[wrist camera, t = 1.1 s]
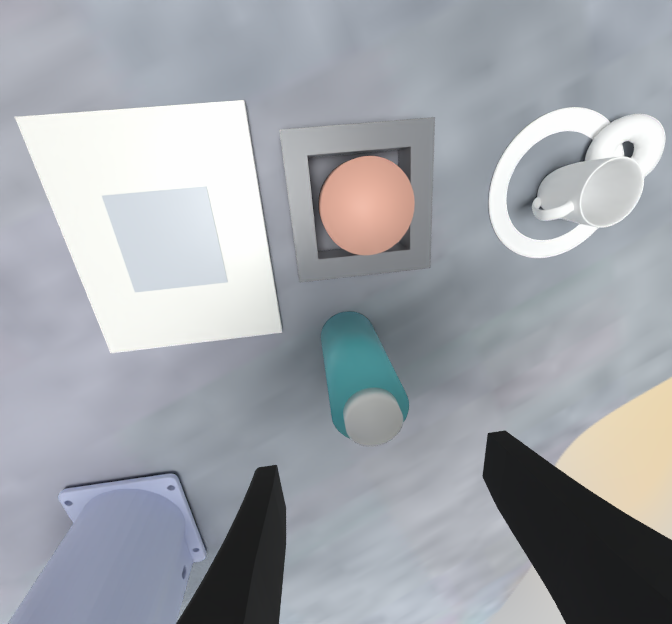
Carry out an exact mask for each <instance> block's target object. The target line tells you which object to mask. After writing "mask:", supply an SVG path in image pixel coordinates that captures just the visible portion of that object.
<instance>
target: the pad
mask: <svg viewBox="0 0 672 624" xmlns="http://www.w3.org/2000/svg"><path fill="white" fill-rule="evenodd" d="M15 118H16V121H17V123H18V126H19V128H20V131H21V133H22V136H23V138H24V141H25V143H26V146H27V148H28V150H29V153H30V155H31V158H32V160H33V163H34V165H35V168H36V170H37V173H38V175H39V178H40V180H41V182H42V185H43V187H44V190H45V192H46V195H47V197H48V200H49V202H50V205H51V207H52V210H53V212H54V214H55V217H56V219H57V222H58V224H59V227H60V229H61V232H62V234H63V237H64V239H65V242H66V244H67V247H68V249H69V251H70V254H71V256H72V259H73V261H74V264H75V266H76V269H77V271H78V274H79V276H80V279H81V281H82V283H83V286H84V288H85V291H86V293H87V296H88V298H89V301H90V303H91V306H92V308H93V311H94V313H95V315H96V318H97V320H98V323H99V325H100V328H101V330H102V333H103V335H104V338H105V340H106V343H107V345H108V347H109V350H110V352H111V353H117V352H125V351H134V350H142V349H150V348H159V347H167V346H175V345H183V344H192V343H200V342H208V341H217V340H225V339H233V338H241V337H250V336H258V335H266V334H275V333H282V324H281V318H280V312H279V306H278V300H277V294H276V288H275V282H274V276H273V269H272V263H271V257H270V251H269V245H268V239H267V233H266V227H265V221H264V215H263V209H262V202H261V196H260V190H259V184H258V178H257V172H256V166H255V160H254V154H253V148H252V141H251V135H250V129H249V123H248V117H247V111H246V105H245V101H244V100H240V101H226V102H212V103H199V104H185V105H172V106H158V107H144V108H131V109H117V110H103V111H90V112H76V113H62V114H49V115H35V116H22V117H15Z"/></svg>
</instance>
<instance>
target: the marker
mask: <svg viewBox="0 0 672 624" xmlns="http://www.w3.org/2000/svg"><path fill="white" fill-rule="evenodd" d="M321 343H322V350H323V357H324V364H325V372H326V379H327V386H328V393H329V401H330V408H331V415H332V420H333V423H334V425H335V427H336V428H337V430H338V431H339V432H340V433H341V434H343V435H344V436H346V437H348V438H350V439H352V440H353V441H354V442H355V443H357V444H360V445H363V446H378V445H382V444H384V443H387V442H388V441H390V440H392V439H393V438H394V437H395V436H396V435H397V434H398V433H399V432H400V430H401V428H402V425H403V422H404V421H405V419H406V417H407V414H408V410H409V401H408V397H407V395H406V392H405V390H404V388H403V386H402V384H401V382H400V380H399V378H398V376H397V374H396V372H395V370H394V368H393V366H392V364H391V362H390V360H389V358H388V356H387V354H386V352H385V350H384V348H383V346H382V344H381V342H380V340H379V338H378V336H377V334H376V332H375V330H374V328H373V326H372V324H371V323H370V321H369V320H368V319H367V318H366V317H365V316H363V315H362V314H360V313H357V312H350V311H348V312H341V313H338V314H336V315H334V316H333V317H331V318H330V319H329V320H328V321H327V322H326V323H325V325H324V327H323V329H322V332H321Z"/></svg>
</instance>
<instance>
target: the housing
mask: <svg viewBox="0 0 672 624" xmlns="http://www.w3.org/2000/svg"><path fill="white" fill-rule="evenodd" d="M434 128H435V117H432V118H419V119H407V120H394V121H382V122H369V123H357V124H344V125H331V126H319V127H306V128H294V129H281V130H279V132H280V139H281V147H282V154H283V162H284V169H285V177H286V184H287V192H288V199H289V207H290V215H291V222H292V230H293V237H294V245H295V252H296V260H297V267H298V275H299V282H308V281H317V280H326V279H335V278H344V277H353V276H362V275H372V274H381V273H390V272H399V271H408V270H417V269H426V268H430V257H431V225H432V193H433V161H434ZM394 150H399V168H401V169H402V171H403V172H404V173H405V174H406V176H407V177H408V179H409V181H410V183H411V186H412V189H413V193H414V201H415V206H414V214H413V218H412V221H411V224H410V226H409V228H408V230H407V232H406V233H405V235H404V236H403V237H402V238H401V240H400V241H399V243H396V244H395V245H394V246H393V247H391V248H389V249H388V250H386V251H384V252H381V253H378V254H374V255H357V254H353V253H350V252H348V251H346V250H344V249H335V250H325V251H317V242H316V233H315V223H314V214H313V205H312V195H311V186H310V176H309V167H308V158H313V157H324V156H336V155H348V154H359V153H371V152H383V151H394Z"/></svg>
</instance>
